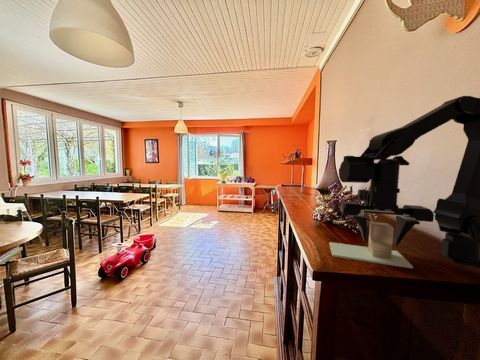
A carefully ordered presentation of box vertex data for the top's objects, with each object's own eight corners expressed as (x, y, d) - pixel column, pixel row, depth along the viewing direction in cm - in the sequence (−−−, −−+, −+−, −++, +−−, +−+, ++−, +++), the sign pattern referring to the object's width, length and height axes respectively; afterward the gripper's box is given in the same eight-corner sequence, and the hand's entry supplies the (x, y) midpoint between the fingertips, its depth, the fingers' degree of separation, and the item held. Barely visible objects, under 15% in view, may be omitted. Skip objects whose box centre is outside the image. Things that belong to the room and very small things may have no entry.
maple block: (385, 252, 53) (387, 223, 53) (391, 259, 50) (393, 227, 49) (368, 250, 55) (370, 221, 54) (372, 256, 51) (374, 225, 50)
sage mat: (397, 252, 54) (397, 251, 54) (413, 268, 46) (413, 266, 46) (329, 243, 60) (329, 242, 60) (332, 256, 52) (332, 254, 52)
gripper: (413, 182, 55) (409, 237, 56) (339, 179, 61) (336, 229, 62) (437, 186, 45) (431, 253, 46) (344, 182, 51) (341, 242, 52)
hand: (379, 242), depth 52 cm, fingers open, 7 cm apart
